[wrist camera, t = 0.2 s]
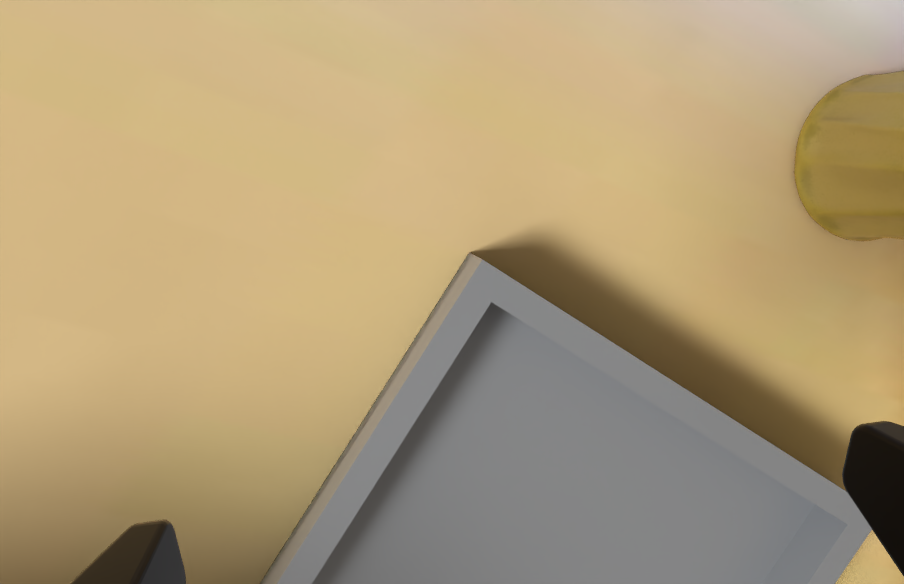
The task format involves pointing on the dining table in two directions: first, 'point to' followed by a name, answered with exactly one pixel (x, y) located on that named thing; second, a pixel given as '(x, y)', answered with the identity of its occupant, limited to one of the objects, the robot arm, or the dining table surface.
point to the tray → (557, 468)
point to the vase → (855, 159)
